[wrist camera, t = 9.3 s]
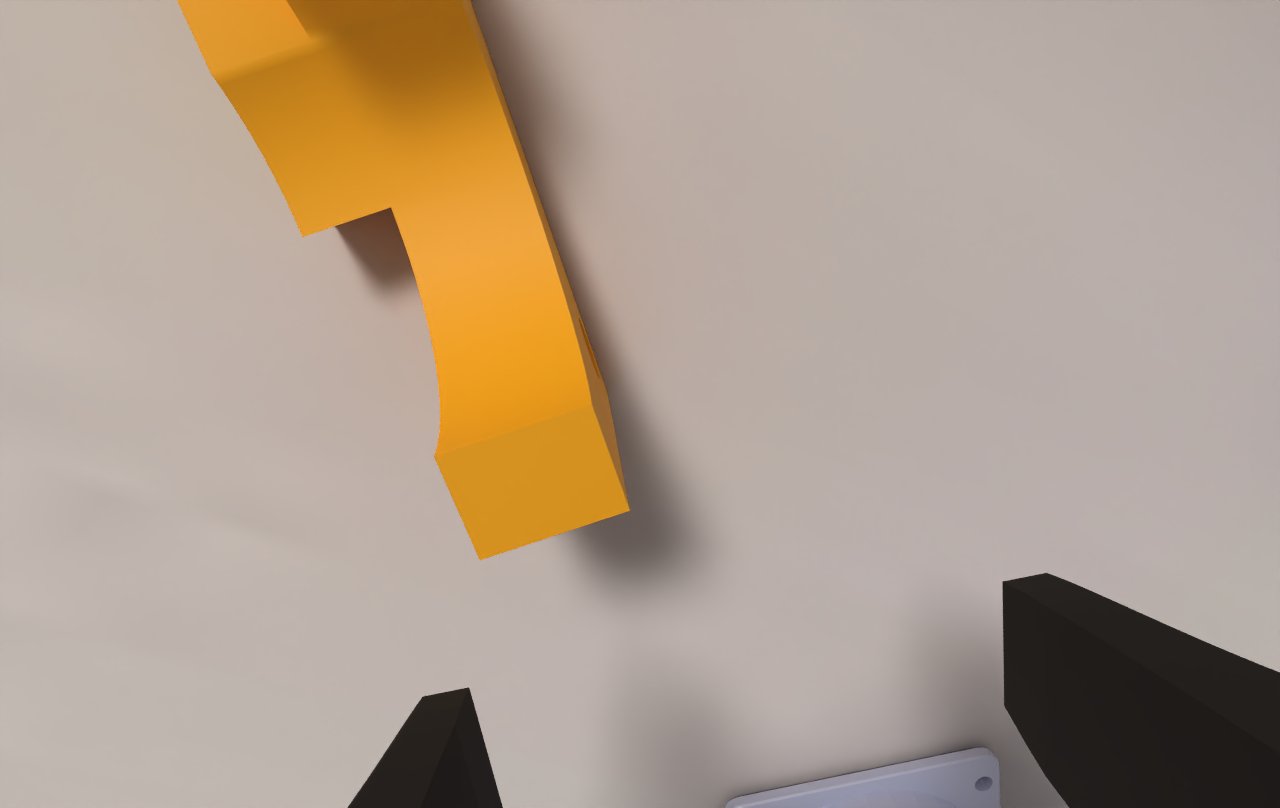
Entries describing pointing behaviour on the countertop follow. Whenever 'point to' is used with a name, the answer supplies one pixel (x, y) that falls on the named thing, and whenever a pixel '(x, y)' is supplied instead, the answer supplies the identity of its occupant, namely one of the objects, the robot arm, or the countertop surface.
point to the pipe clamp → (436, 235)
